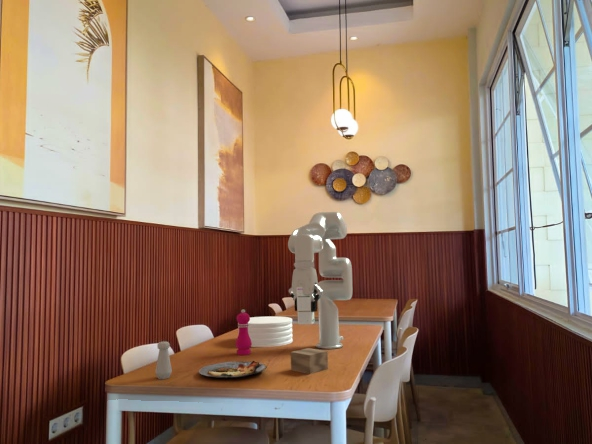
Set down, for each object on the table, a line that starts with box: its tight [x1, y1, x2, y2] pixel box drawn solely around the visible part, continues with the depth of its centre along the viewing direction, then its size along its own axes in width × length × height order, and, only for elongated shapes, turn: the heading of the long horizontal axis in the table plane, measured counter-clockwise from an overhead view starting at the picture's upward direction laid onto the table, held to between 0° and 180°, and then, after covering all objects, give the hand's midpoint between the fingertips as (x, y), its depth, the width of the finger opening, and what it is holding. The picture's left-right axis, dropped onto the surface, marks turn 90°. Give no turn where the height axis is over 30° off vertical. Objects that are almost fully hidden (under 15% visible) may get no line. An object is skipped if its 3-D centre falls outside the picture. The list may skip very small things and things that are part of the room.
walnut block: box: [290, 347, 329, 375], centre depth 178 cm, size 10×10×7 cm
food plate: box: [198, 360, 268, 379], centre depth 175 cm, size 25×23×4 cm
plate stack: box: [237, 315, 294, 348], centre depth 240 cm, size 28×28×12 cm
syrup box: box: [296, 287, 316, 326], centre depth 181 cm, size 6×6×14 cm
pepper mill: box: [235, 309, 252, 356], centre depth 211 cm, size 7×7×20 cm
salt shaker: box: [155, 341, 173, 380], centre depth 171 cm, size 6×6×13 cm
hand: (305, 310), depth 181 cm, fingers closed on syrup box, 7 cm apart
